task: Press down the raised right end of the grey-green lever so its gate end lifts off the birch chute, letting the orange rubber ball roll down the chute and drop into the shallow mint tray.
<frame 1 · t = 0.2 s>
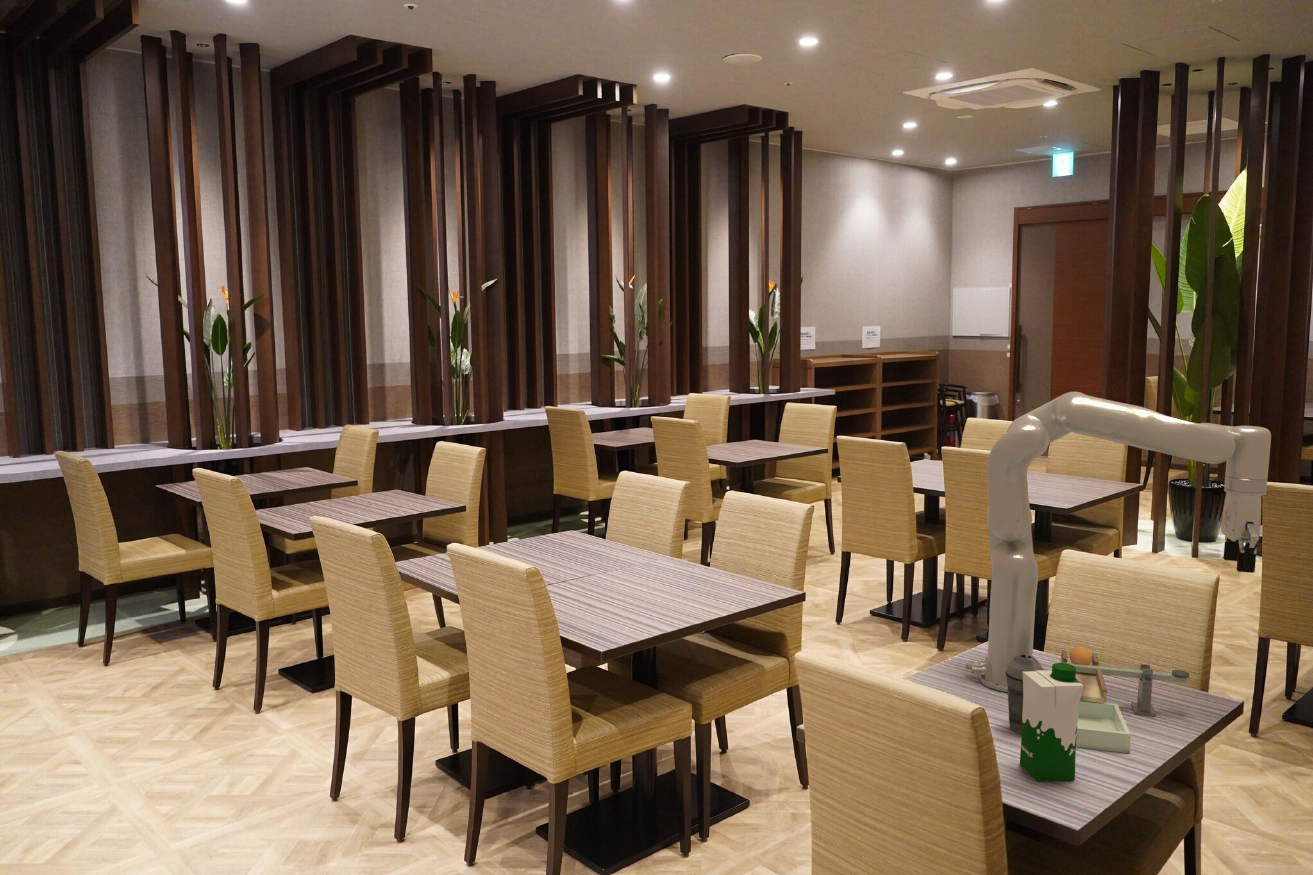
hand: (1238, 565, 206), 31 cm above the table, tool pointing down, fingers open, 9 cm apart
beverage cup: (1021, 731, 198), on the table
lever: (1124, 671, 208), point 8 cm above the table, hinge at 0.0°, touching ball
pivot stand: (1143, 710, 208), on the table
ball: (1080, 656, 213), point 9 cm above the table, tilted 22°, touching lever, ramp
milk carton: (1046, 773, 180), on the table
shallow mint tray: (1089, 733, 197), on the table
ramp: (1080, 707, 209), on the table
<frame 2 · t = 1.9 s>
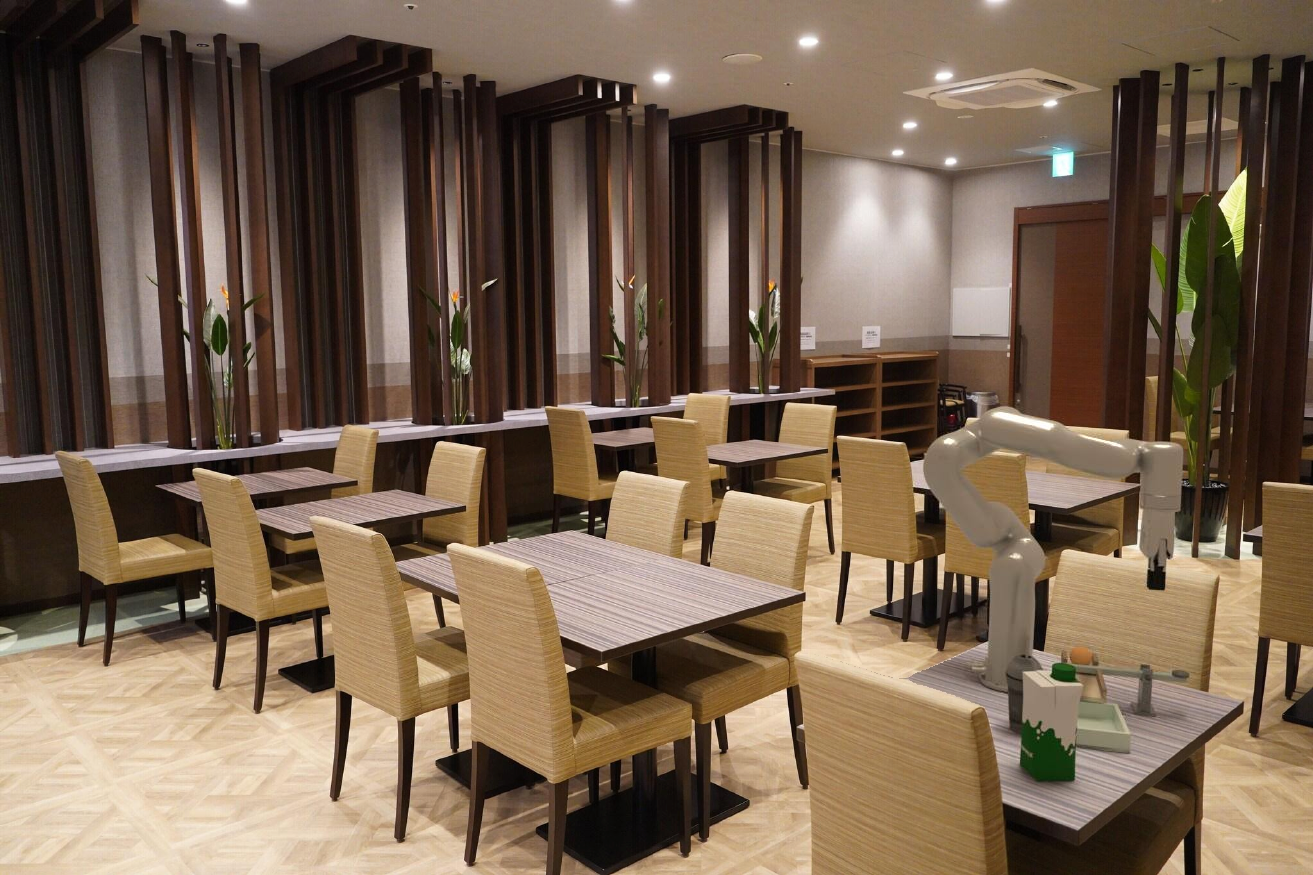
hand: (1155, 588, 204), 27 cm above the table, tool pointing down, fingers closed
nothing on the table moved.
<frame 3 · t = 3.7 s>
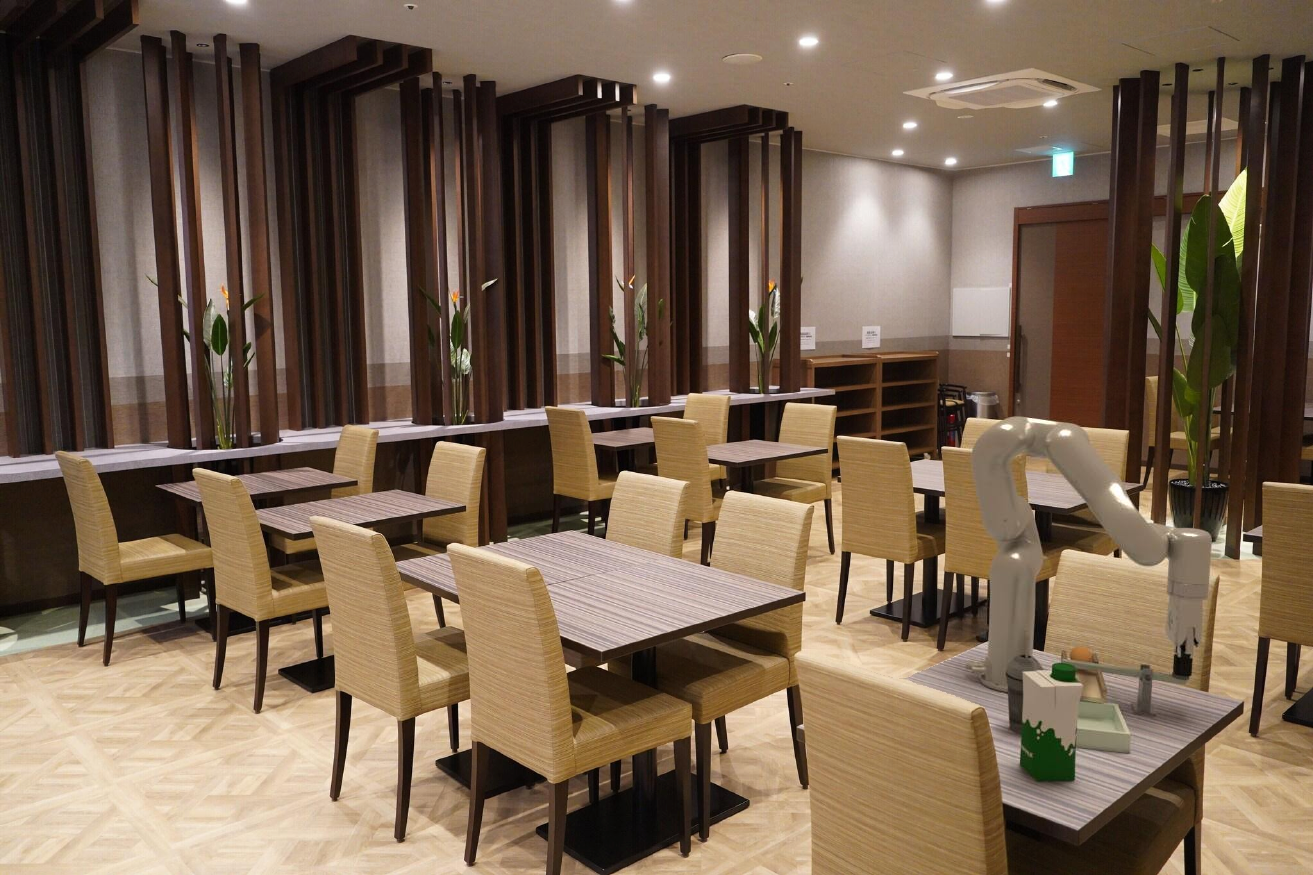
hand: (1182, 674, 205), 9 cm above the table, tool pointing down, fingers closed
lever: (1124, 670, 208), point 8 cm above the table, hinge at 3.3°, touching gripper
ball: (1080, 656, 213), point 10 cm above the table, tilted 15°, touching ramp
everything else where it was.
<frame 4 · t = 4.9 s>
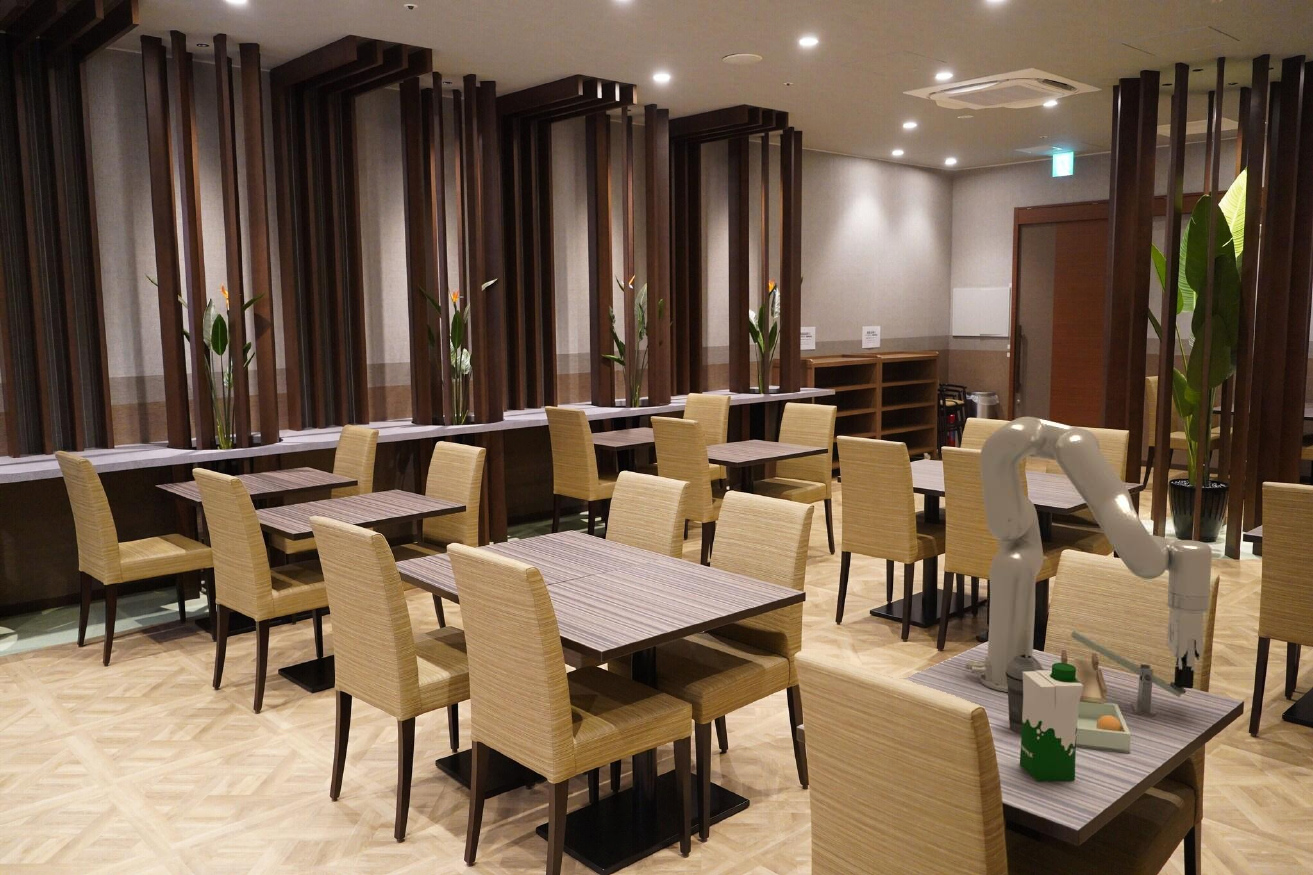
hand: (1183, 686, 205), 6 cm above the table, tool pointing down, fingers closed
lever: (1127, 663, 208), point 10 cm above the table, hinge at 26.8°, touching gripper
ball: (1108, 726, 193), point 3 cm above the table, tilted 130°, touching shallow mint tray
everything else where it was.
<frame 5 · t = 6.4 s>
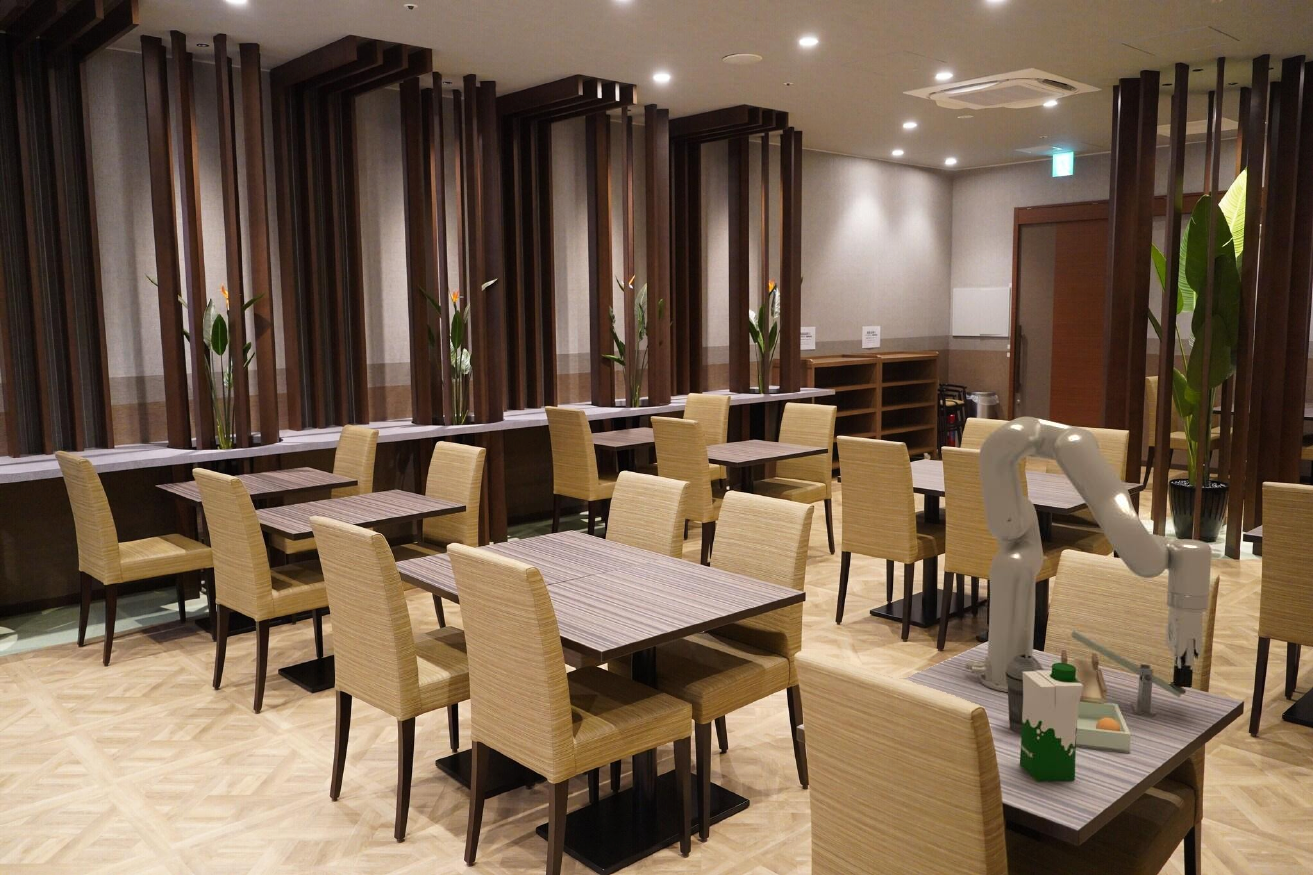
hand: (1182, 685, 205), 6 cm above the table, tool pointing down, fingers closed
ball: (1108, 729, 192), point 3 cm above the table, tilted 98°, touching shallow mint tray
everything else where it was.
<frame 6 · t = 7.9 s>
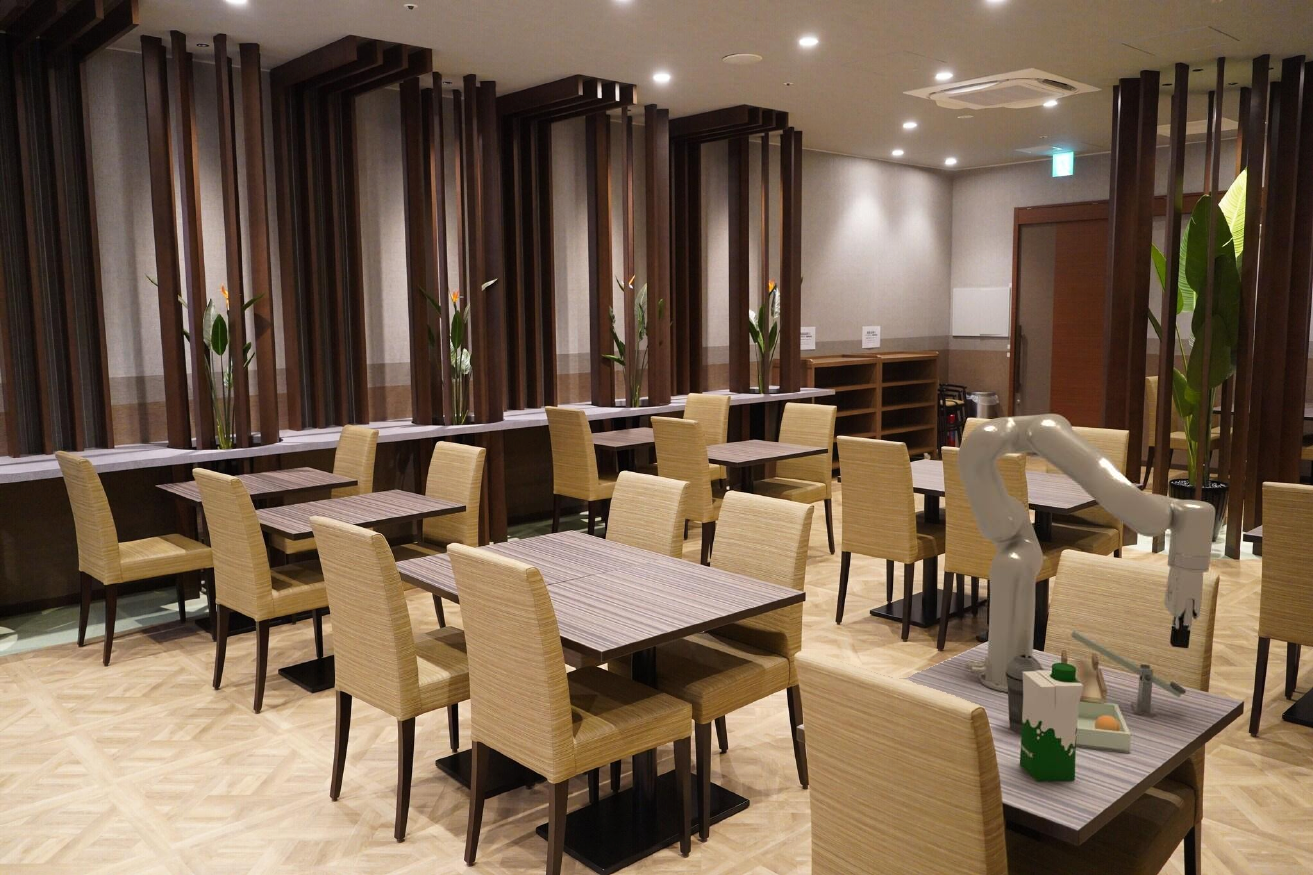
hand: (1179, 646, 204), 15 cm above the table, tool pointing down, fingers closed
lever: (1127, 663, 208), point 10 cm above the table, hinge at 26.9°
ball: (1107, 726, 193), point 3 cm above the table, tilted 128°, touching shallow mint tray
everything else where it was.
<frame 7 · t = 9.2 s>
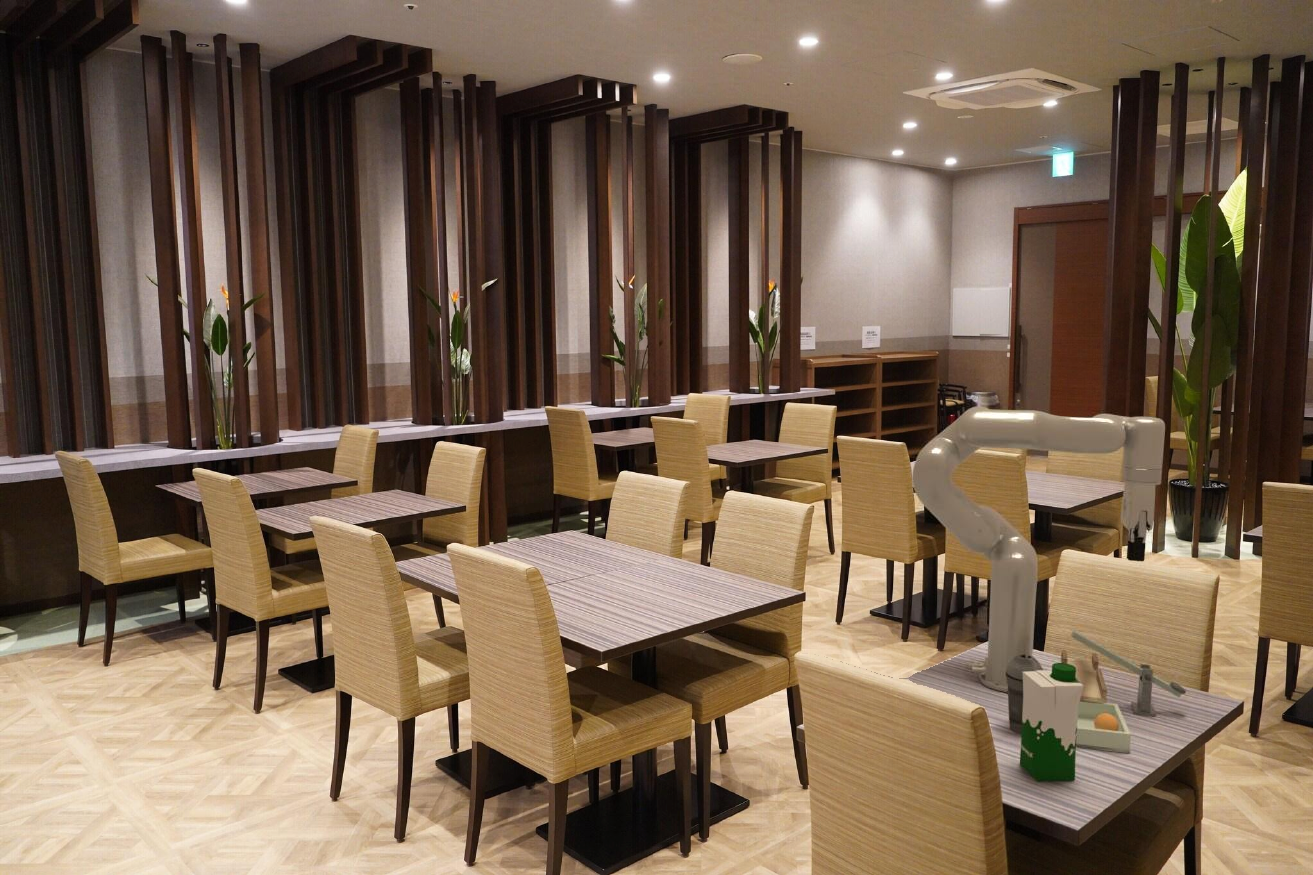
hand: (1135, 559, 210), 31 cm above the table, tool pointing down, fingers closed
ball: (1106, 724, 194), point 3 cm above the table, tilted 154°, touching shallow mint tray
everything else where it was.
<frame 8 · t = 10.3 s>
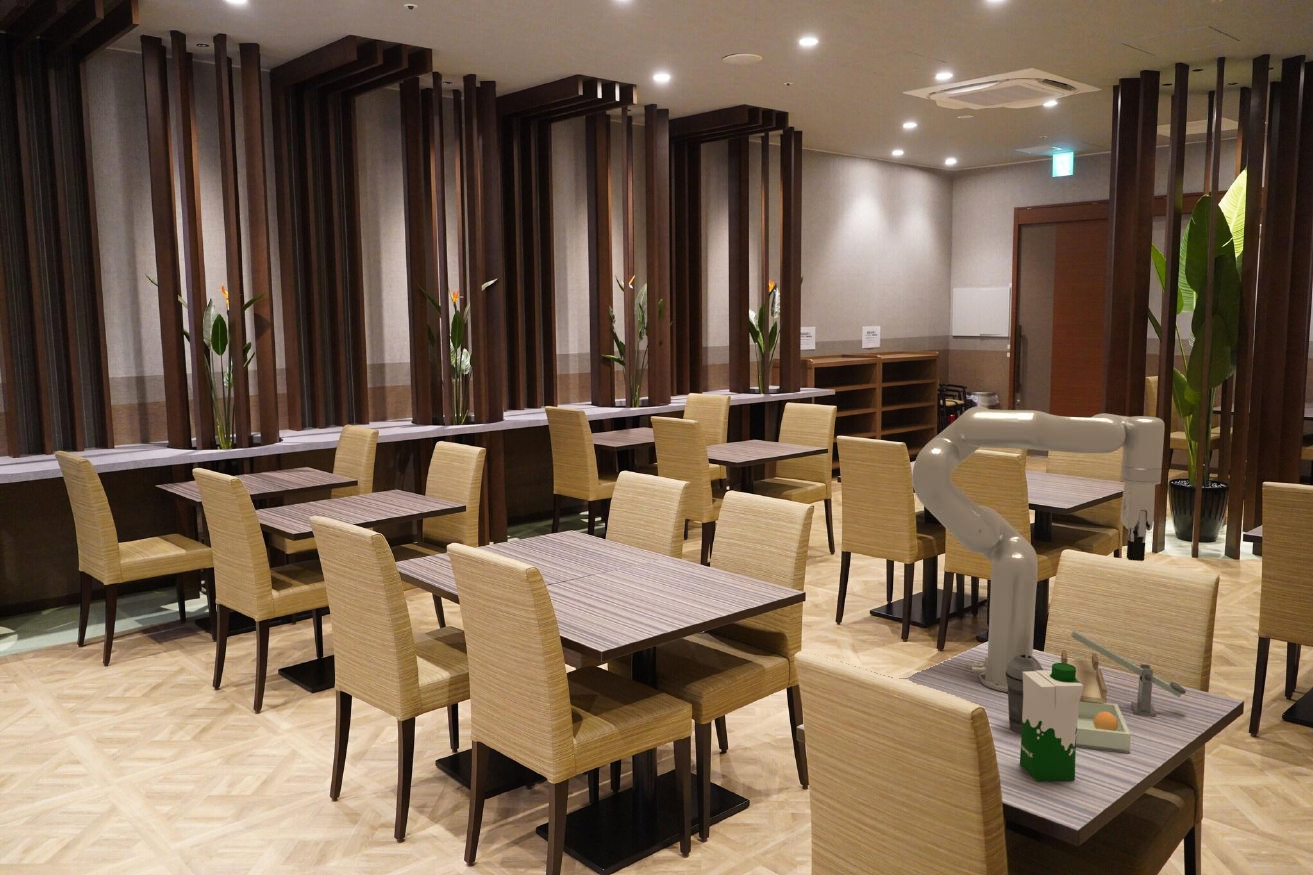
hand: (1135, 559, 210), 31 cm above the table, tool pointing down, fingers closed
ball: (1105, 723, 195), point 3 cm above the table, tilted 177°, touching shallow mint tray
everything else where it was.
at the end: ball inside the target area on the shallow mint tray (2.7 cm from its centre), point 2.8 cm above the shallow mint tray's base; ball point 2.8 cm above the table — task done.
